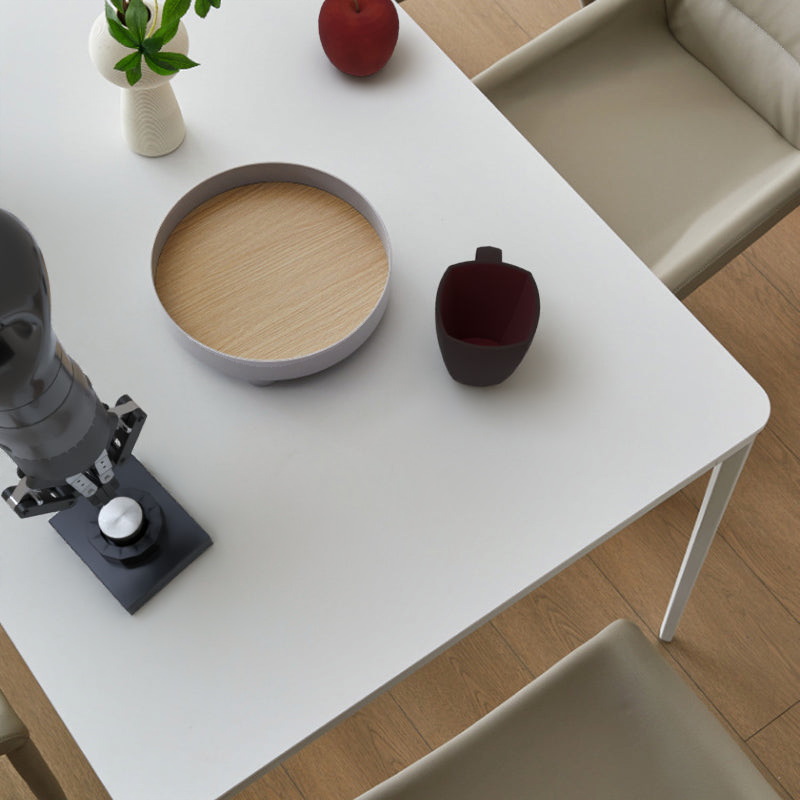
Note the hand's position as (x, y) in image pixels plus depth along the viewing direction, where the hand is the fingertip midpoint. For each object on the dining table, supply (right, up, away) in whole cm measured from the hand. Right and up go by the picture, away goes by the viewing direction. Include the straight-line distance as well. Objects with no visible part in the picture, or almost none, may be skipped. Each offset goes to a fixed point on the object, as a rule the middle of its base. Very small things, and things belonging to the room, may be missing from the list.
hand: (104, 493), depth 87 cm
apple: (+21, +49, +37) cm, 65 cm away
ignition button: (0, -4, +8) cm, 8 cm away
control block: (0, -5, +11) cm, 12 cm away
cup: (+34, +14, +20) cm, 42 cm away
